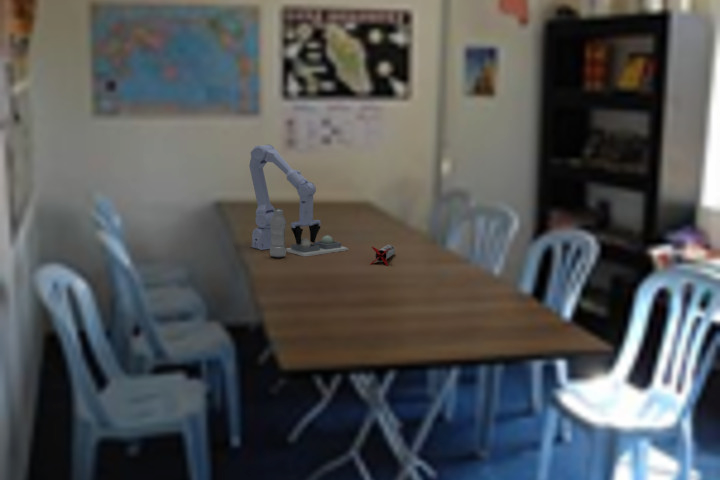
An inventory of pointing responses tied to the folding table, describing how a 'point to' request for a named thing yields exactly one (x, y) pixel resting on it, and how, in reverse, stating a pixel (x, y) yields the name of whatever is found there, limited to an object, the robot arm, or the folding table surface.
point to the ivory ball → (305, 243)
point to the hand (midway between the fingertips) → (305, 243)
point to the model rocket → (384, 254)
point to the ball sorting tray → (316, 248)
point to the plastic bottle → (278, 234)
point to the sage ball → (327, 240)
